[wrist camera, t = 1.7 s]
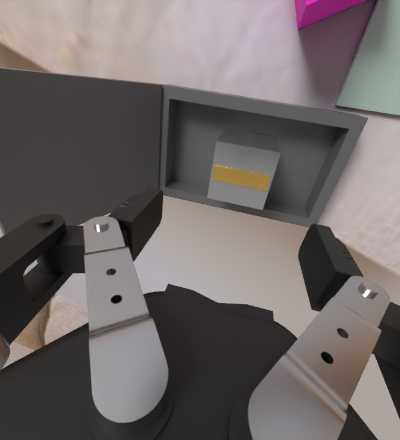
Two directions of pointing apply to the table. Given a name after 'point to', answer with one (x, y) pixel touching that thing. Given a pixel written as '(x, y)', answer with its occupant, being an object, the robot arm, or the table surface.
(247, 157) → the block
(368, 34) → the mat
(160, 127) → the case
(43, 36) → the table surface
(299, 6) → the toy block
